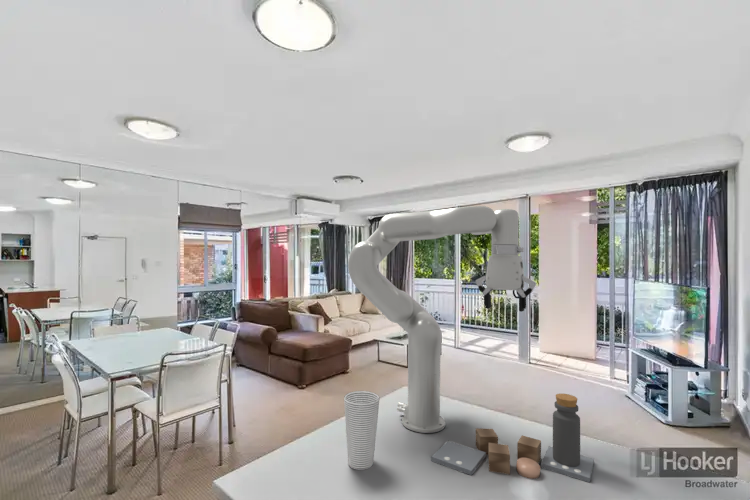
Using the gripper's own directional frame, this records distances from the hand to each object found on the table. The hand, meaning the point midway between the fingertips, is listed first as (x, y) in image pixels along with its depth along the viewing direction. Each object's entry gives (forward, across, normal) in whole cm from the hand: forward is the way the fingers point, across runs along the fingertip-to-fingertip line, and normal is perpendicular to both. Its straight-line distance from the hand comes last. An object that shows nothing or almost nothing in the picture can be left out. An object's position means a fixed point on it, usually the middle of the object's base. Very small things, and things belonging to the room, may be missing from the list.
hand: (504, 309), depth 108 cm
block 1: (+34, 0, +16) cm, 38 cm away
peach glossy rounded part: (+34, -11, +20) cm, 41 cm away
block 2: (+34, -5, +22) cm, 41 cm away
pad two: (+34, +4, +24) cm, 42 cm away
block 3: (+34, -10, +14) cm, 38 cm away
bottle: (+34, -18, +11) cm, 39 cm away
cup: (+34, +22, +40) cm, 57 cm away
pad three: (+34, -18, +11) cm, 40 cm away
